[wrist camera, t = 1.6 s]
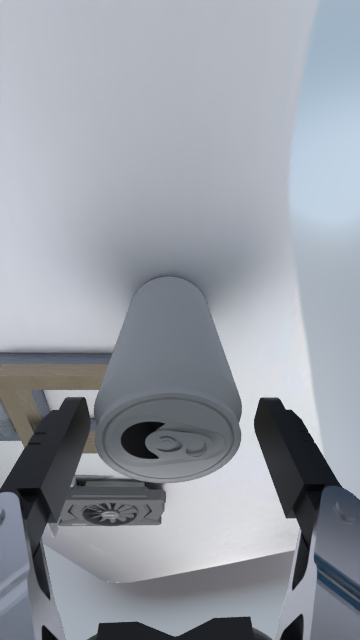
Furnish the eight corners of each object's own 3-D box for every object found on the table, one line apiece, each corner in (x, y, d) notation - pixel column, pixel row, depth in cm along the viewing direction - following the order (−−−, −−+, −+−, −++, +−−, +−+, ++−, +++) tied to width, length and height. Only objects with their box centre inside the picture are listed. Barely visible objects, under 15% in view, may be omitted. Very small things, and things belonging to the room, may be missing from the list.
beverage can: (132, 268, 17) (75, 379, 7) (214, 278, 18) (276, 394, 7) (129, 337, 20) (86, 488, 10) (199, 344, 21) (228, 492, 10)
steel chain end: (-68, 352, 20) (-91, 367, 19) (129, 354, 21) (125, 368, 19) (-22, 428, 25) (-36, 445, 24) (135, 427, 26) (133, 443, 25)
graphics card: (46, 540, 33) (29, 504, 27) (57, 509, 37) (44, 470, 31) (160, 538, 35) (167, 503, 29) (160, 508, 38) (167, 472, 32)
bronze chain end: (12, 353, 21) (-11, 376, 18) (205, 354, 22) (210, 376, 19) (42, 427, 26) (27, 454, 23) (197, 426, 27) (200, 451, 24)
